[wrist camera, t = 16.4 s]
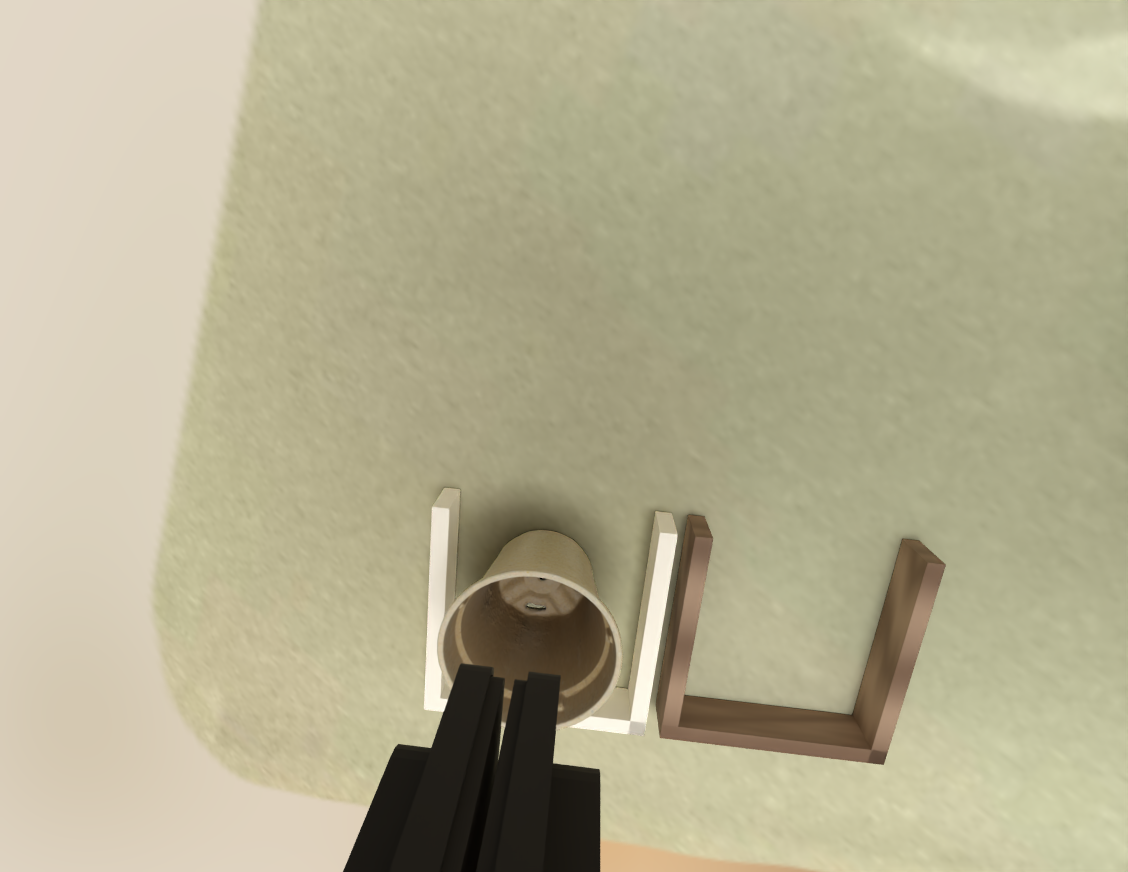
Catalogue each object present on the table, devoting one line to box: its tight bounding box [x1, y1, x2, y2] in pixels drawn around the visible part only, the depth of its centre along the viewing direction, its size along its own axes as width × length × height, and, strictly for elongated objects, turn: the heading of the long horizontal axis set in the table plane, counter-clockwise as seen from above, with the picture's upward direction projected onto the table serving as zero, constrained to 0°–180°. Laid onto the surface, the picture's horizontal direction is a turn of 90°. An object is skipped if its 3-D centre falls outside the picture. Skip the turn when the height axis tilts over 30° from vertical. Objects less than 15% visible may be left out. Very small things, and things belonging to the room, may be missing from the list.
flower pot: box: [437, 530, 623, 730], centre depth 35 cm, size 9×9×9 cm
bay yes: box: [424, 488, 678, 736], centre depth 39 cm, size 14×14×3 cm
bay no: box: [656, 515, 946, 765], centre depth 38 cm, size 14×14×3 cm
